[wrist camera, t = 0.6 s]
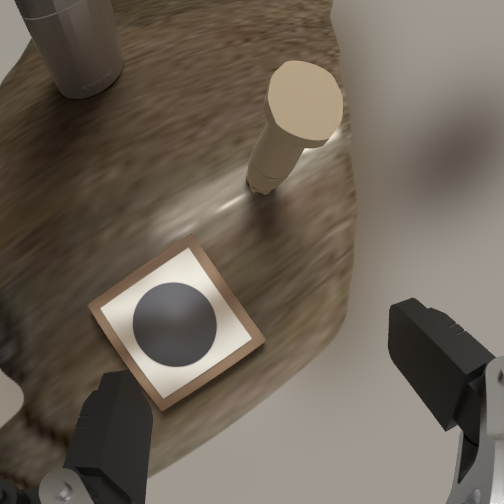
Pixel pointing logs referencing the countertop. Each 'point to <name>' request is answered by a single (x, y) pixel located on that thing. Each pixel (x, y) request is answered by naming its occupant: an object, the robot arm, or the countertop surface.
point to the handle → (293, 122)
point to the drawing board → (176, 323)
